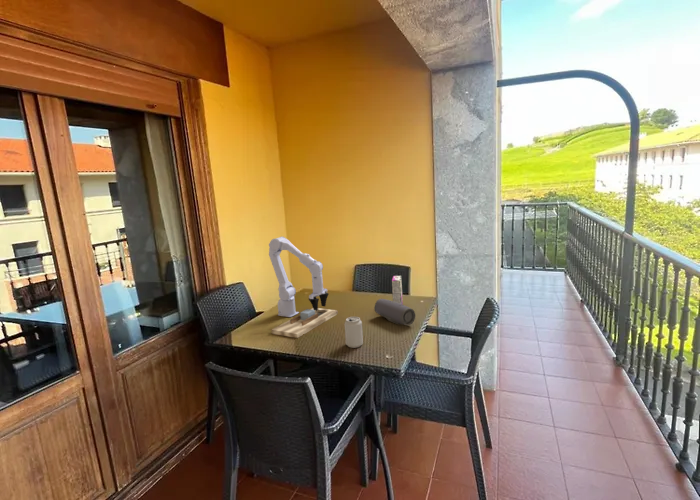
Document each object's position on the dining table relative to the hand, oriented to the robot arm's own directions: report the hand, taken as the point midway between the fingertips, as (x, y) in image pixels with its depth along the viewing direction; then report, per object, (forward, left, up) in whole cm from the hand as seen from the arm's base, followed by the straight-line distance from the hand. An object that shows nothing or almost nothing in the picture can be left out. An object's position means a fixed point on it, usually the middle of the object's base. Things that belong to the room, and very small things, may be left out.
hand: (319, 308), depth 199 cm
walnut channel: (0, -14, -2) cm, 14 cm away
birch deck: (0, -13, -4) cm, 13 cm away
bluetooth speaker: (+42, +5, -5) cm, 43 cm away
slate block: (0, -11, -2) cm, 11 cm away
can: (+37, -28, -4) cm, 46 cm away
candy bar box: (+34, +29, -4) cm, 45 cm away
